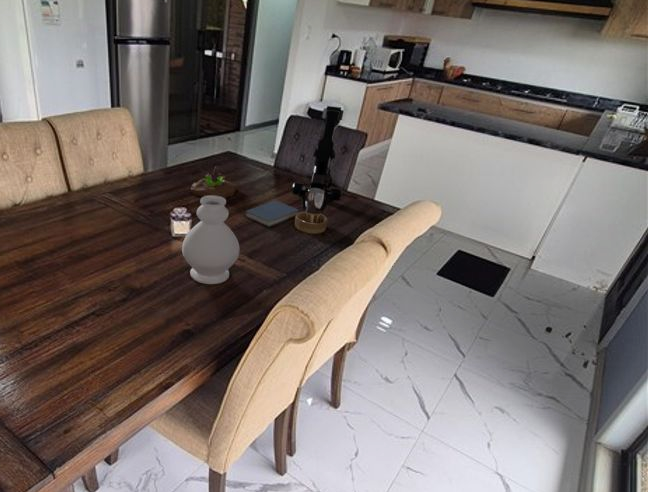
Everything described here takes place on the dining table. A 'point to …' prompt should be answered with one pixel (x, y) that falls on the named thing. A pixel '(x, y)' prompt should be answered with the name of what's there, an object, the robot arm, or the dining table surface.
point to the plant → (214, 186)
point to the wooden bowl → (310, 224)
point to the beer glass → (314, 204)
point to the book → (271, 213)
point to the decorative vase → (211, 243)
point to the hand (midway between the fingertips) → (312, 211)
